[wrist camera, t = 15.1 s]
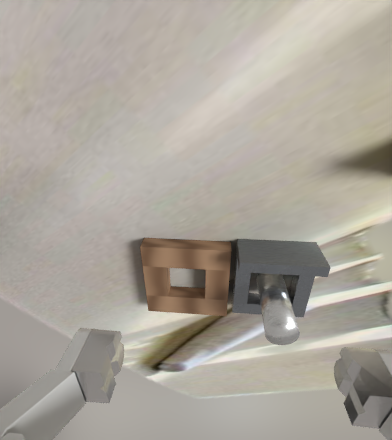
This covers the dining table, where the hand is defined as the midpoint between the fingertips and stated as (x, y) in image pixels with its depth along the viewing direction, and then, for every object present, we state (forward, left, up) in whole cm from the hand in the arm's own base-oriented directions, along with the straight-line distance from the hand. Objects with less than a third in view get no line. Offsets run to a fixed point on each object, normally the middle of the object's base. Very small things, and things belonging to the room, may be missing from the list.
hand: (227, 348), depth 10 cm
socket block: (-5, -21, -29) cm, 36 cm away
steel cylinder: (+9, -21, -29) cm, 37 cm away
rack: (+9, -21, -29) cm, 37 cm away
